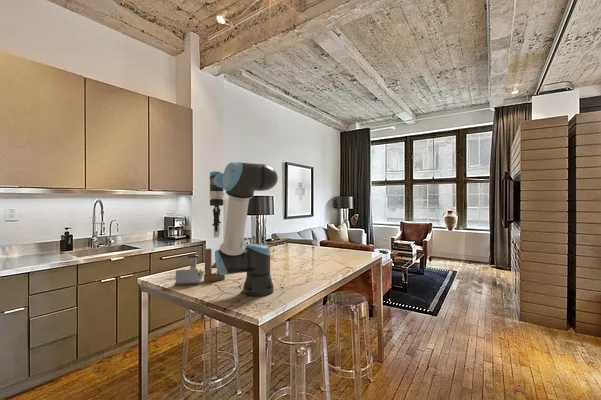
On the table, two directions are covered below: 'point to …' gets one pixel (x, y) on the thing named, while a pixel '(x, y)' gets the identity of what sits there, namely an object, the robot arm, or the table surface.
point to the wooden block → (208, 268)
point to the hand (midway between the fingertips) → (216, 236)
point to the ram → (193, 261)
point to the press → (188, 277)
